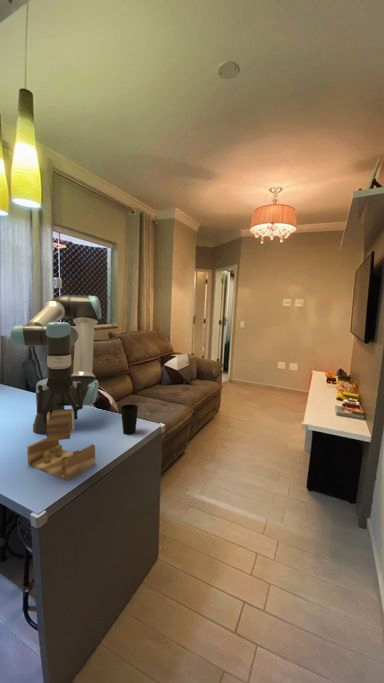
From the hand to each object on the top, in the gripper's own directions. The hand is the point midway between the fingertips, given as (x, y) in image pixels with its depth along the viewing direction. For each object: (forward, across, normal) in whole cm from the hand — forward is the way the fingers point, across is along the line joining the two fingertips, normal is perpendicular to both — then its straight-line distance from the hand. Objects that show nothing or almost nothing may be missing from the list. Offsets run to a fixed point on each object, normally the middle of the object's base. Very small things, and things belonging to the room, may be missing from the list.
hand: (61, 429), depth 102 cm
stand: (+13, 0, 0) cm, 13 cm away
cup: (+13, +27, +19) cm, 36 cm away
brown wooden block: (+1, 0, 0) cm, 1 cm away
